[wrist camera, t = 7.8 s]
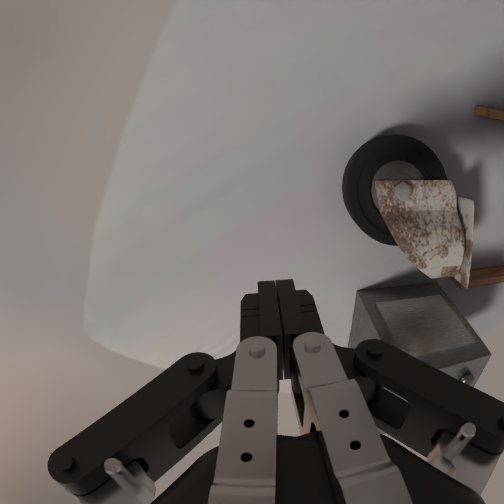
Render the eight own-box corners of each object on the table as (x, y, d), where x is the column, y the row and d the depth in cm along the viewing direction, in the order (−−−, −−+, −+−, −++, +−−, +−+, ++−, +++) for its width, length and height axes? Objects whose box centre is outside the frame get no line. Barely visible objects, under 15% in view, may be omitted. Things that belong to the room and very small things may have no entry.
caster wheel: (335, 139, 25) (442, 140, 23) (341, 268, 28) (442, 262, 26) (345, 131, 19) (478, 136, 17) (351, 299, 21) (473, 289, 20)
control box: (357, 288, 28) (401, 382, 18) (436, 279, 28) (496, 356, 18) (346, 353, 32) (374, 442, 22) (418, 342, 32) (458, 419, 22)
